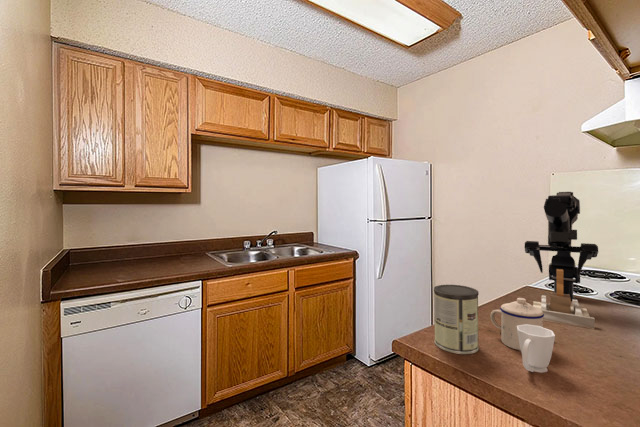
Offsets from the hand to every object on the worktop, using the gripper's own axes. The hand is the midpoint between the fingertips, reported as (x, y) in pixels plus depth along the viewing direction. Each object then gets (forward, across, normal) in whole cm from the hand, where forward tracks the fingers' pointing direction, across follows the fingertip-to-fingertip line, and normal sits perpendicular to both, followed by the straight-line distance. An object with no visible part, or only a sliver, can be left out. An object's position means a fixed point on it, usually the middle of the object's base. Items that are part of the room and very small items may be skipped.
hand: (559, 274), depth 97 cm
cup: (+31, -6, -36) cm, 48 cm away
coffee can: (+30, -22, -33) cm, 50 cm away
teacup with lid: (+26, -10, -24) cm, 36 cm away
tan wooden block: (+11, 0, +3) cm, 12 cm away
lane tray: (+14, 0, +1) cm, 14 cm away
